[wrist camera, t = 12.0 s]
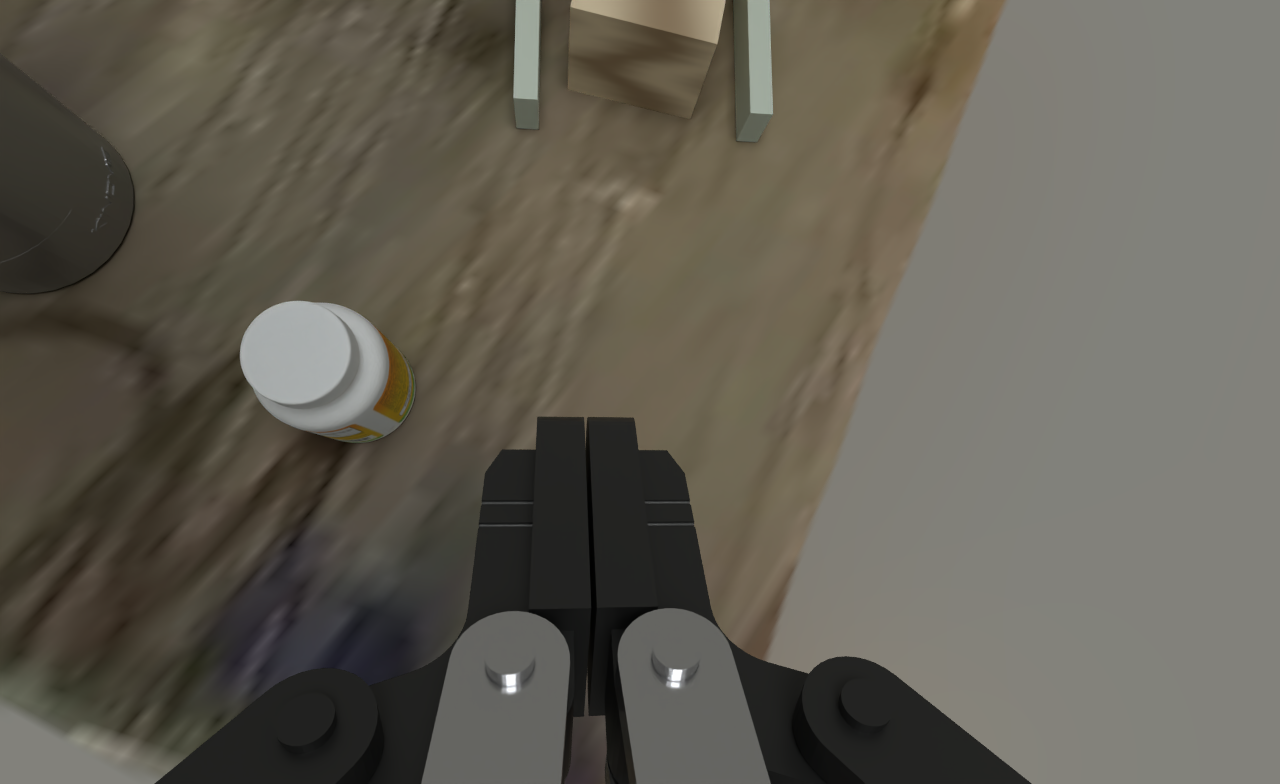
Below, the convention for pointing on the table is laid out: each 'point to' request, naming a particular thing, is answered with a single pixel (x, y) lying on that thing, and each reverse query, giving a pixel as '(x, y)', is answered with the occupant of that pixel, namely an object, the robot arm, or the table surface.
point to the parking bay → (748, 59)
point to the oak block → (643, 51)
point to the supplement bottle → (327, 371)
